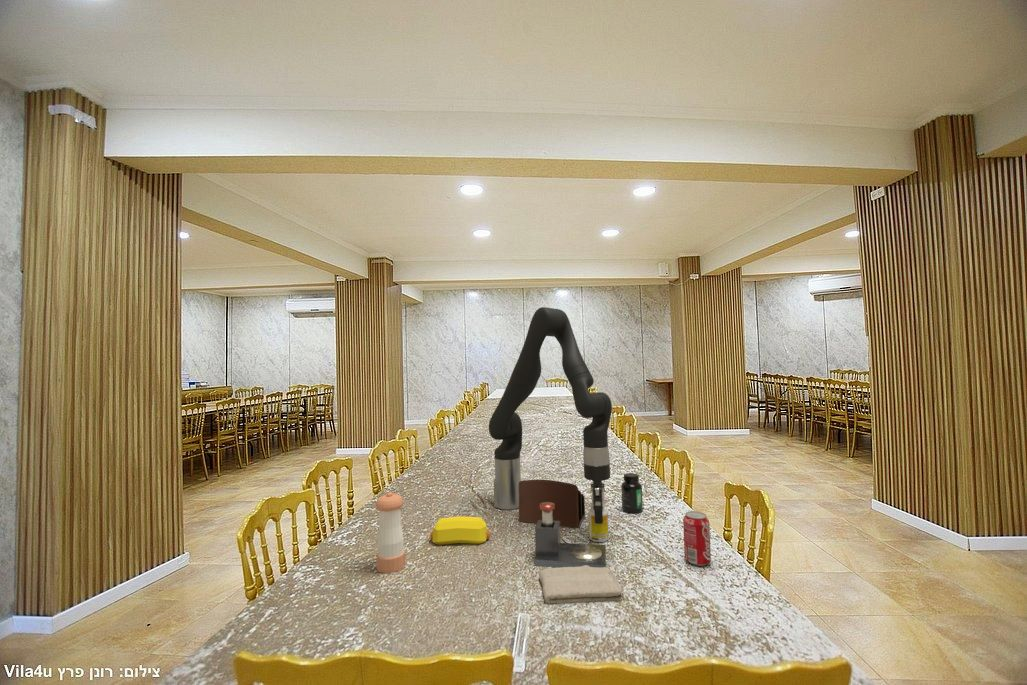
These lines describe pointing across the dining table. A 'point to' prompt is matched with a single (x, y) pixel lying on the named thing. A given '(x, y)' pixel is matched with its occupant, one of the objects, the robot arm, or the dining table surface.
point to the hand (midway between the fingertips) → (599, 517)
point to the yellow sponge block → (460, 530)
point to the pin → (547, 513)
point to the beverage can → (697, 538)
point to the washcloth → (579, 584)
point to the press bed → (565, 550)
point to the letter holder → (556, 492)
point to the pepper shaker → (390, 534)
